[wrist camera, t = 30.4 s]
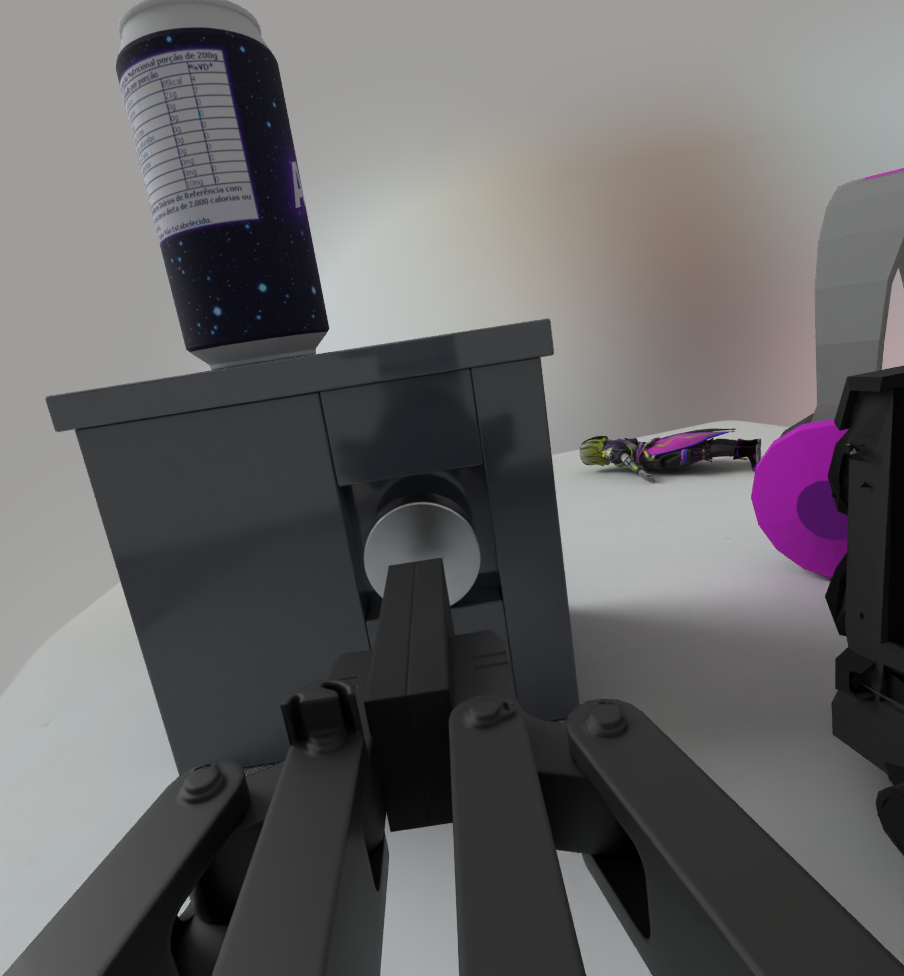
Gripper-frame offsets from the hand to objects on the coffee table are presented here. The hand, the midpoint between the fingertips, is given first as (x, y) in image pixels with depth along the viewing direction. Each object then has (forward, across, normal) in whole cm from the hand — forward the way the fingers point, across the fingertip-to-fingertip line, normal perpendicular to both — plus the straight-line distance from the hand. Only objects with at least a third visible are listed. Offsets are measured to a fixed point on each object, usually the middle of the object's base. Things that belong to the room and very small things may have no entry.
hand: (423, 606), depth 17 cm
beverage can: (+10, -6, +7) cm, 14 cm away
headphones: (+19, +27, -8) cm, 34 cm away
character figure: (+40, +21, -8) cm, 46 cm away
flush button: (+5, 0, -2) cm, 5 cm away
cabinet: (+10, -3, -8) cm, 13 cm away
